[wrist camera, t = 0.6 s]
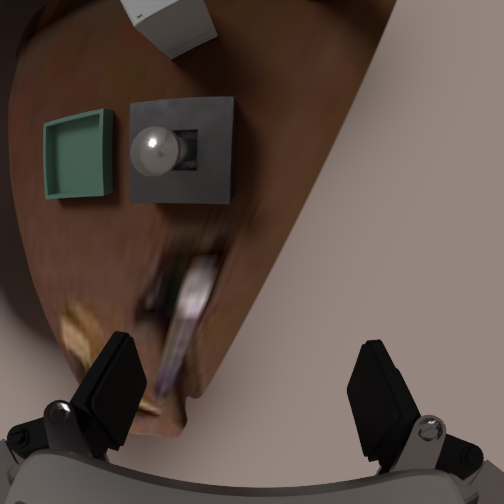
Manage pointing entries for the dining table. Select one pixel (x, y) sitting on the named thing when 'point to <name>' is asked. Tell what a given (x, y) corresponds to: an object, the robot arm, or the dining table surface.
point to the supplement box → (172, 23)
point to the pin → (160, 151)
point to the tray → (78, 155)
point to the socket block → (208, 150)
